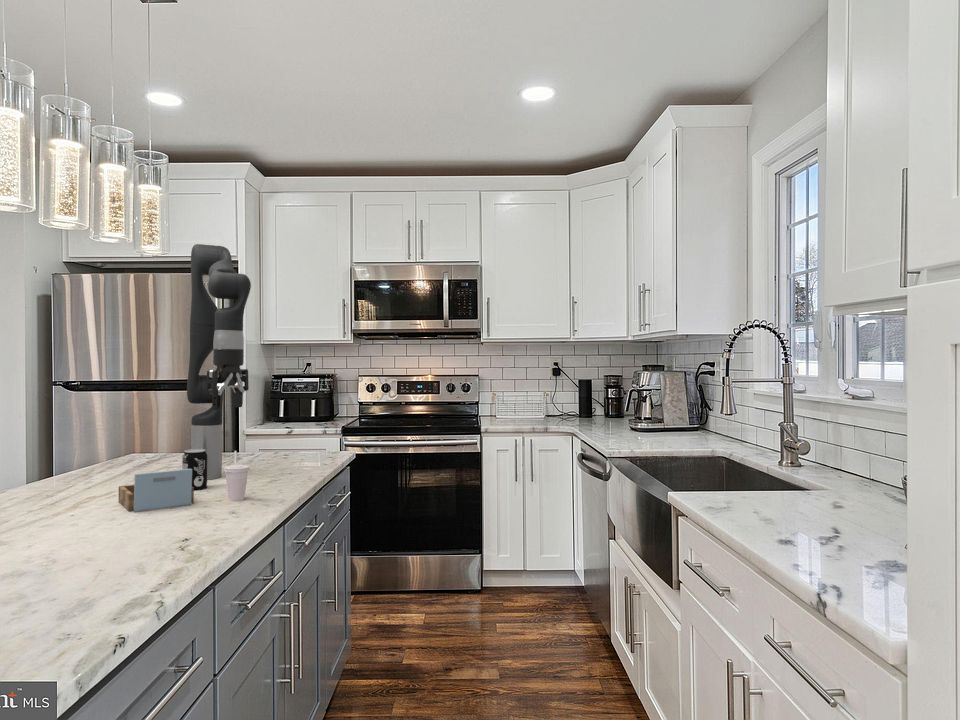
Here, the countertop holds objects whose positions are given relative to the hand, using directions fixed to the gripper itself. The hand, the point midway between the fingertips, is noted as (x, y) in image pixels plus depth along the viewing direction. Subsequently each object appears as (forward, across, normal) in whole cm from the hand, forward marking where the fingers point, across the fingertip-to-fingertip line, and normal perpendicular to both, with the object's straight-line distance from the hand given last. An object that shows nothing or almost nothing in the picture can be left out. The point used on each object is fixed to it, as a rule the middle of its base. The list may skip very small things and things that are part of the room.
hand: (227, 408), depth 166 cm
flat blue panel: (+25, +12, -9) cm, 29 cm away
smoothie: (+26, -2, +1) cm, 26 cm away
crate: (+26, +8, -16) cm, 31 cm away
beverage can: (+26, -10, -19) cm, 34 cm away
